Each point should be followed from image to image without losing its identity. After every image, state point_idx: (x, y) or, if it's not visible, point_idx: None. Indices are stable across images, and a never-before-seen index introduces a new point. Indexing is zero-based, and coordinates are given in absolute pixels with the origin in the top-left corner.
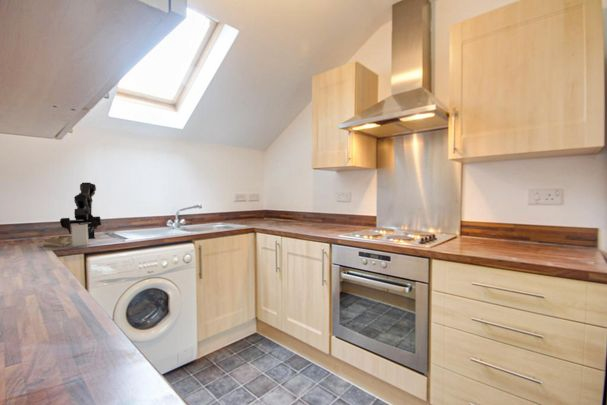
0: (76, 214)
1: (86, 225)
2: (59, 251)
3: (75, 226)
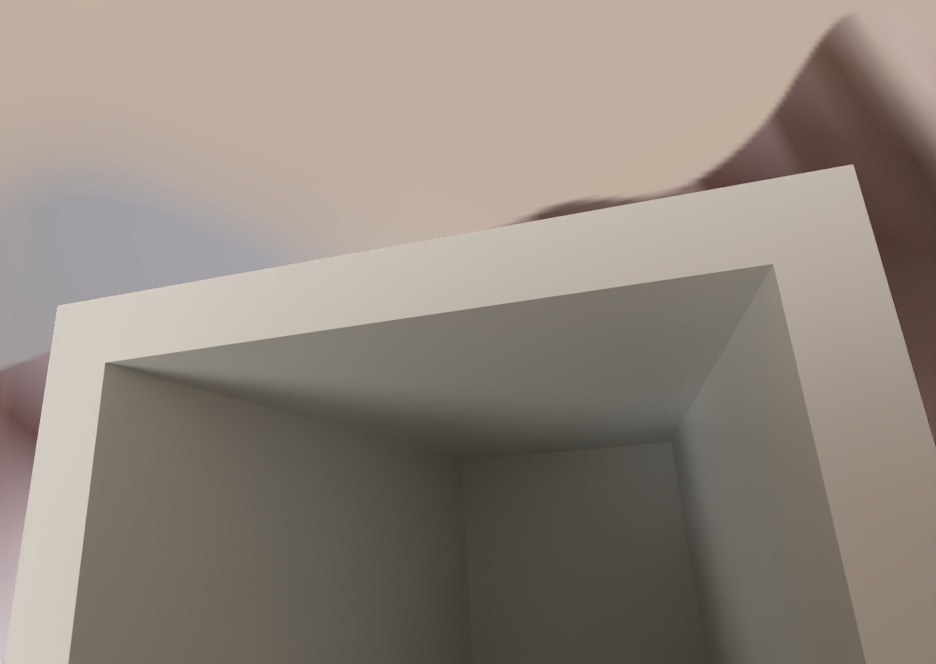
0: None
1: (58, 520)
2: (806, 122)
3: (597, 232)
